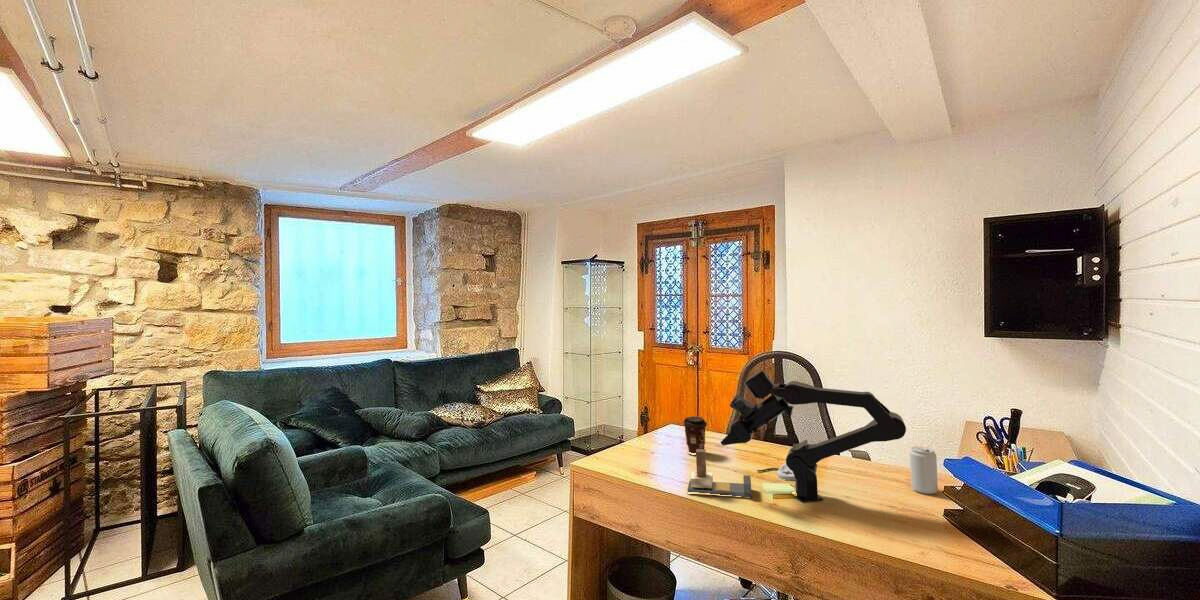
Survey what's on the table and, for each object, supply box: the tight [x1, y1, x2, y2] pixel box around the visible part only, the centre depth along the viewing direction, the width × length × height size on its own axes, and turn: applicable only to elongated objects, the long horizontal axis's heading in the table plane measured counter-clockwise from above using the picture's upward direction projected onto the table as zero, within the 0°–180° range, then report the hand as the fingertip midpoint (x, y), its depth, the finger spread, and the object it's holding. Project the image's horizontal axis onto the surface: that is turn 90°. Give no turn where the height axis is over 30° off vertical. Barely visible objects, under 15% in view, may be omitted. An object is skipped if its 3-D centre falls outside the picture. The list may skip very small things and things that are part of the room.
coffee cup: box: [683, 415, 708, 453], centre depth 183 cm, size 9×8×13 cm
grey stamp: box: [690, 448, 714, 488], centre depth 148 cm, size 6×6×10 cm
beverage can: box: [909, 446, 939, 495], centre depth 142 cm, size 6×6×12 cm
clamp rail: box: [687, 474, 753, 499], centre depth 147 cm, size 18×7×4 cm, turn 75°
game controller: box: [756, 461, 795, 481], centre depth 162 cm, size 15×13×2 cm
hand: (725, 439), depth 151 cm, fingers open, 9 cm apart
